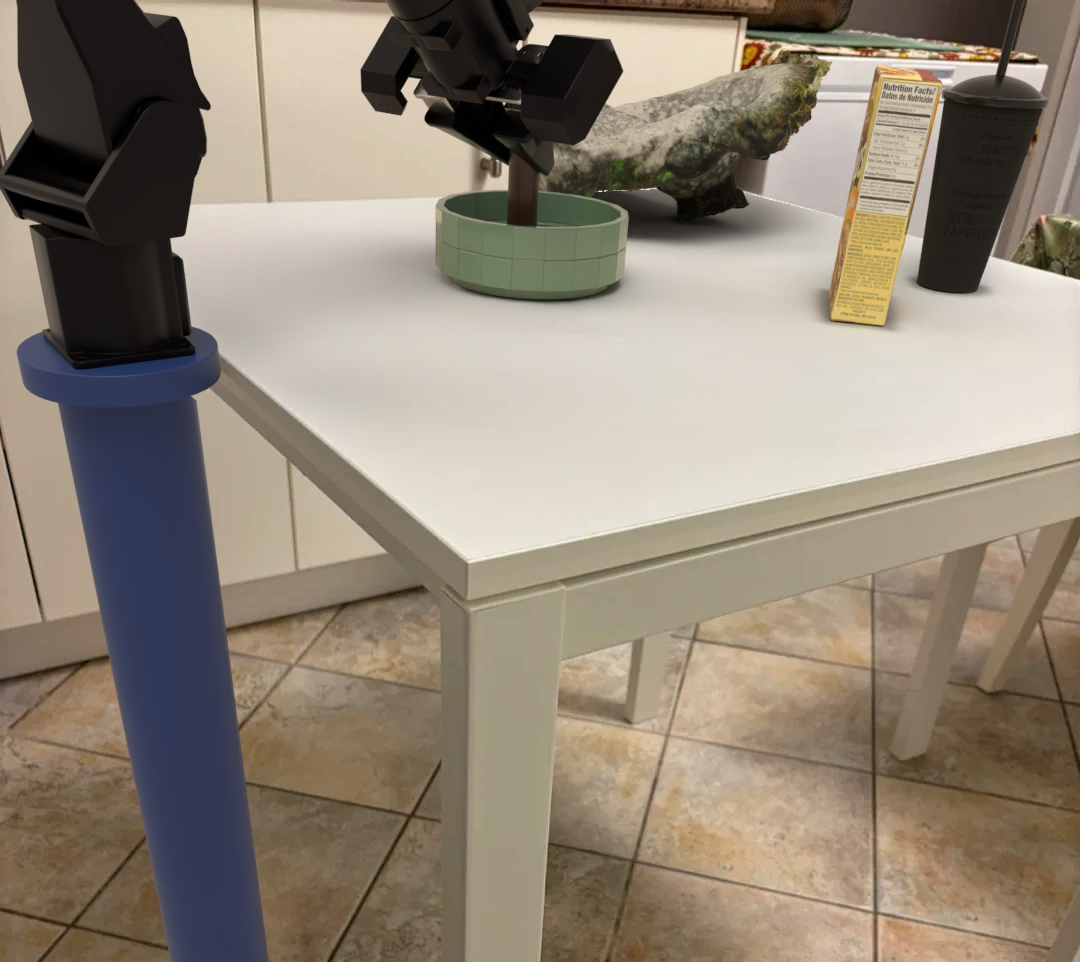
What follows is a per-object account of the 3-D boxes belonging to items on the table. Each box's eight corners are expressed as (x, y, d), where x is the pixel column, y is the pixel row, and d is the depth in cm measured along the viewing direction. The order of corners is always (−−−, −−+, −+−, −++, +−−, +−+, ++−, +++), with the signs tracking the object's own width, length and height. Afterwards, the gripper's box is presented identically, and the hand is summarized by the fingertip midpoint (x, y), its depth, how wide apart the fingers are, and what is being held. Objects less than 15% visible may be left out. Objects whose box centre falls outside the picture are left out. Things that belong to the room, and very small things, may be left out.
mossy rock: (910, 147, 101) (885, -36, 92) (667, 314, 95) (613, 136, 86) (708, 139, 123) (671, -10, 114) (499, 274, 117) (441, 129, 107)
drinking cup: (963, 302, 85) (1045, -6, 74) (880, 280, 90) (945, -14, 78) (1014, 290, 90) (1098, -4, 78) (932, 269, 94) (1000, -11, 83)
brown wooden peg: (545, 274, 81) (556, 69, 73) (491, 270, 81) (496, 65, 74) (548, 261, 84) (558, 64, 77) (496, 258, 84) (501, 61, 77)
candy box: (827, 291, 86) (871, 64, 77) (882, 297, 85) (933, 68, 77) (828, 321, 79) (878, 74, 70) (889, 328, 78) (946, 79, 69)
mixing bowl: (502, 312, 76) (504, 235, 74) (402, 265, 86) (401, 195, 83) (659, 291, 83) (667, 220, 80) (552, 250, 93) (555, 185, 90)
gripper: (620, -128, 62) (698, 88, 76) (385, -133, 71) (492, 61, 85) (525, 38, 61) (621, 226, 75) (300, 11, 70) (421, 183, 84)
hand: (536, 167), depth 80 cm, fingers closed on brown wooden peg, 2 cm apart
